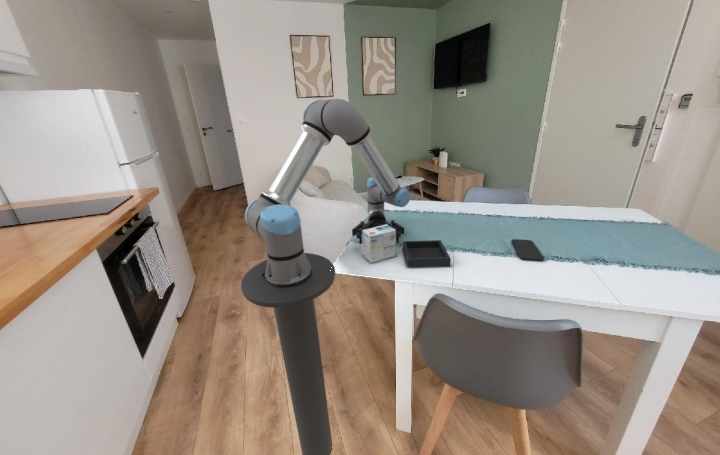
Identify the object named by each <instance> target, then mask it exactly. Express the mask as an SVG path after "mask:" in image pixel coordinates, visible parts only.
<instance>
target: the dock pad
mask: <svg viewBox="0 0 720 455" xmlns="http://www.w3.org/2000/svg"><path fill="white" fill-rule="evenodd" d="M402 250H403V255H404V260H405V262H406V267H407V268H440V267H441V268H443V267H451V262H452V261H451V260H452V257H451V255H450V254H449V252H448V250H447V249H446V247H445V244H443V242H442V240H441V239H434V240H432V239H431V240H403V241H402Z"/></svg>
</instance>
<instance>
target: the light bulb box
mask: <svg viewBox="0 0 720 455" xmlns="http://www.w3.org/2000/svg"><path fill="white" fill-rule="evenodd" d="M396 244H397V242H396V230H395V229H394V228H392V227H390V226H389V225H387V224H385V225H381V226H378V227H374V228H369V229H365V230H362V252H363V257H364V258H365V259H366V260H367V261H368V262H369V263H370V264H371V263H376V262H380V261H383V260H387V259H390V258H393V257H396V254H397V251H396V250H397V245H396Z"/></svg>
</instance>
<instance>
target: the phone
mask: <svg viewBox="0 0 720 455" xmlns="http://www.w3.org/2000/svg"><path fill="white" fill-rule="evenodd" d="M511 243H512V246H513V247H514V249H515V251H516V253H517V255H518V257H519V258H520V259H521V260H524V261H538V262H543V261H544V258H545V257H544V256H543V255H542V253H541V252H540V250H539V249H538V247H537V245H536V244H535V243H534V241H532V240H531V239H517V238H513V239H511Z"/></svg>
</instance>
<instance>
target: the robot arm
mask: <svg viewBox="0 0 720 455" xmlns="http://www.w3.org/2000/svg"><path fill="white" fill-rule="evenodd" d="M302 120H303V121H302V124H301V125H300V129H301V134H300V135H299V137H298V139H297V140H296V142H295V144H294V145H293V147H292V149H291V151H290V153H289V154H288V156H287V157H286V159H285V161H284V163H283V164H282V166H281V167H280V169H279V171H278V173H277V174H276V176H275V178H274V180H273V181H272V184H271V185H270V187H269V188H268V189H267V190H264V191H262V192H261V193H260V195H259V196H258V198H257V199H255V200H253V201H252V202H250V203H249V204H248V206H247V207H246V208H245V209H246V210H245V213H244V219H245V222H246V224H247V226H248V227H249V229H250V230H251V231H252V232H254V233H256V235H258V236H259V237H260V238H261V239H263V241H264V244H265V249H266V255H267V260H268V261H267V267H266V271H265V272H263V273H262V274H261V275H262V276H264V275H265V276H266V281H267V282H268V283H269V284H270V285H272V286H275V287H291V286H295V285H298V284H301V283H303V282H304V281H306V280H307V279H308V278H309V277H310V276H311V274H312V267H311V264H310V262H309V260H308V258H307V257H306V255H305V253H306V252H305V248H304V241H303V234H302V225H301V224H302V223H301V221H302V220H301V218H300V213H299V211H298V210H297V209H296V207H294V206H292V204H291V202H292V200H293V199H294V197H295V195H296V193H297V192H298V190H299V188H300V187H301V185H302V183H303V181H304V179H305V178H306V177H307V174H308V173H309V171H310V170H311V167H312V166H313V164H314V162H315V160H316V159H317V157H318V155H319V154H320V152H321V150H322V148H323V147H326V146H327V145H330V144H331V141H332V140H333V138H334V136H337V137H340V139H342V140H343V141H344V143H345V144H346V145H347V146H348V147H351V148H352V149H353V151H354V152H355V154H356V155H357V157H358V158H359V160H360V161H361V163H362V164H363V166H364V167H365V169H366V170H367V172H368V174H369V175H370V176H371V177H368V179H367V180H366V181H367V182H366V191H367V193H366V194H367V222H364V220H361V221H360V223H358V224H357V225H355V226H354V227H352V229H351V234H352V235H351V236H353V237H354V236H356V239H357V240H359V242H358V243H359V245H363V237H362V230H365V229H369V228H374V227H378V226H381V225H385V224H387V225H389V226H390V227H392V228H394V229H395V230H396V244H399V243H400V238H401V237H402V235H405V227H404V226H402V225H401V224H399V223H397V222H396V221H395V220H394V219H391V220H390V221H388V220H387V217H386V213H385V203H386V204H389V205H391V206H395V207H399V208H405V207H406V206H407V205H408V204H409V203H410V200H411V193H410V191H409V190H408V189H406V188H405V187H401V185H400V183H399V182H398V180H397V179H396V178H397V177H396V176H395V175H394V173H393V172H392V170H391V168H390V167H389V165H388V163H387V160H385V158H384V156H383V154H382V153H381V151H380V149H379V147H378V146H377V144H376V142H375V140H374V139H373V137H372V135H371V128H370V125H369V124H368V123H367V121H366V120H365V118H364V116H363V115H362V114H361V113H360V112H359V110H358V109H357V108H356V107H355V106H354V105H353V104H352V103H351V102H349V101H348V100H345V99H343V98H333V99H317V100H314V101H311V102H310V103H309V104H308V105H307V106H305V109H304V111H303V114H302Z"/></svg>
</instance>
